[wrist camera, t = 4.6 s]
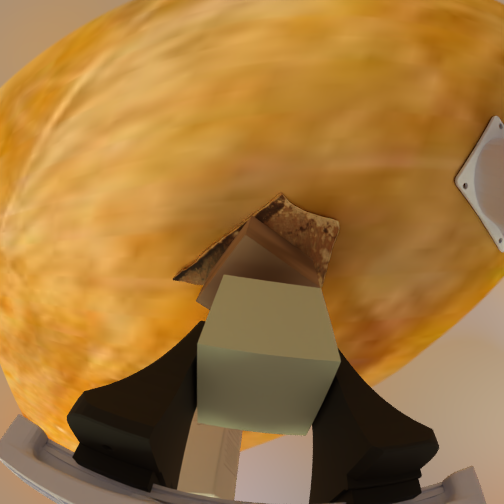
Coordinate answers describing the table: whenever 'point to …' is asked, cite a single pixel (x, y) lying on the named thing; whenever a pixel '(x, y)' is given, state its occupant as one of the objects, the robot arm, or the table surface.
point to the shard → (287, 226)
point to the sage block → (265, 357)
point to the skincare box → (210, 461)
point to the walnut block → (260, 261)
